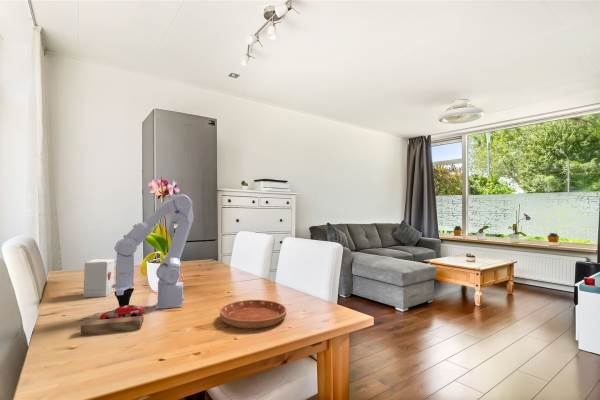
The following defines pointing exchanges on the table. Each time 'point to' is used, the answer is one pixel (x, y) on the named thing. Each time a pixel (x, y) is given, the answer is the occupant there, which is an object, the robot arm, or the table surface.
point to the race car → (123, 312)
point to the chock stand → (111, 325)
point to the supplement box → (98, 277)
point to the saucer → (253, 313)
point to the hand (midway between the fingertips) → (123, 310)
